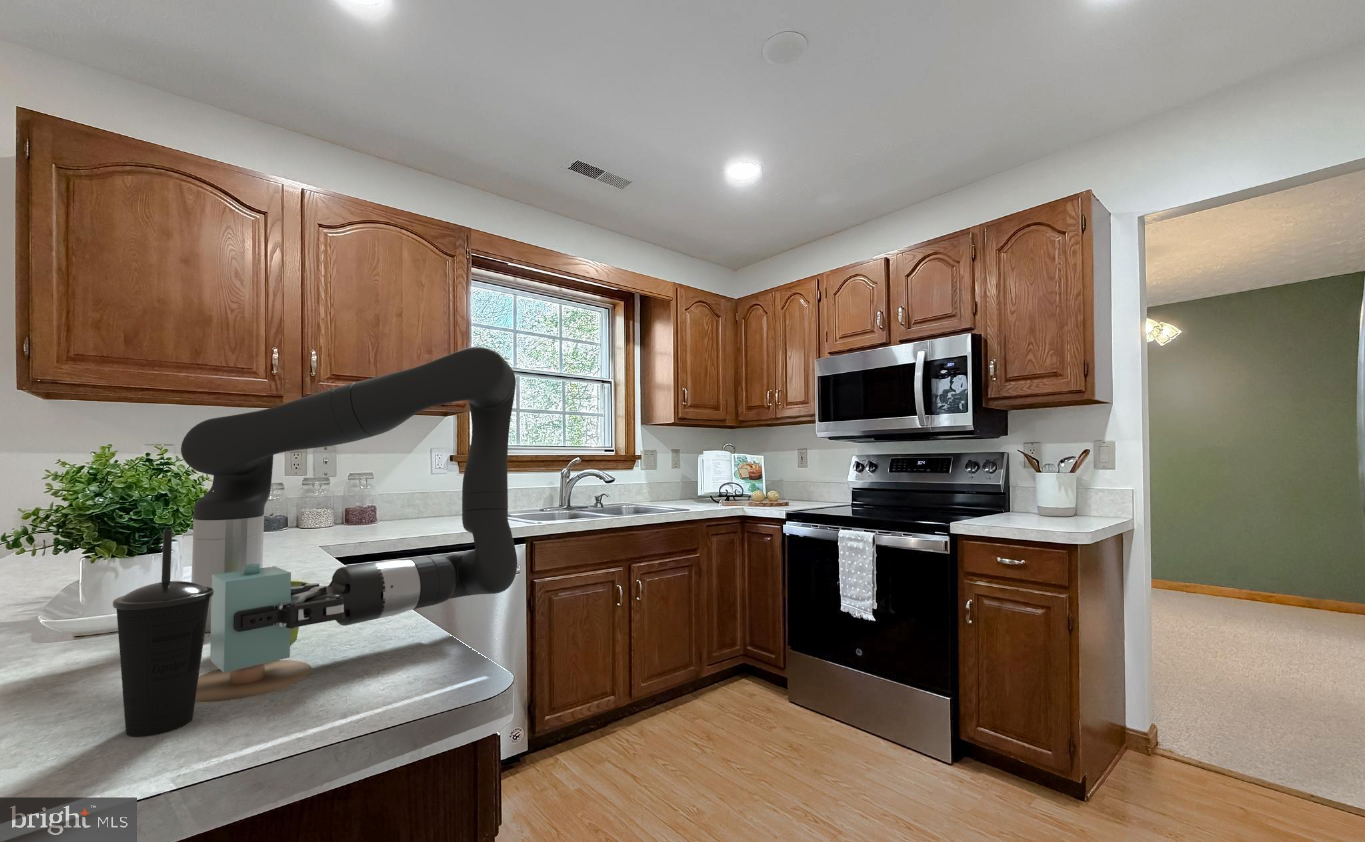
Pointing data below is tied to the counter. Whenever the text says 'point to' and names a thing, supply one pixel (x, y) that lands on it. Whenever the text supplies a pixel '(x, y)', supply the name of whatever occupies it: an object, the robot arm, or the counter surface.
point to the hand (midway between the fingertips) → (227, 616)
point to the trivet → (275, 678)
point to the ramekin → (247, 674)
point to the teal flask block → (243, 594)
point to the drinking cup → (161, 650)
